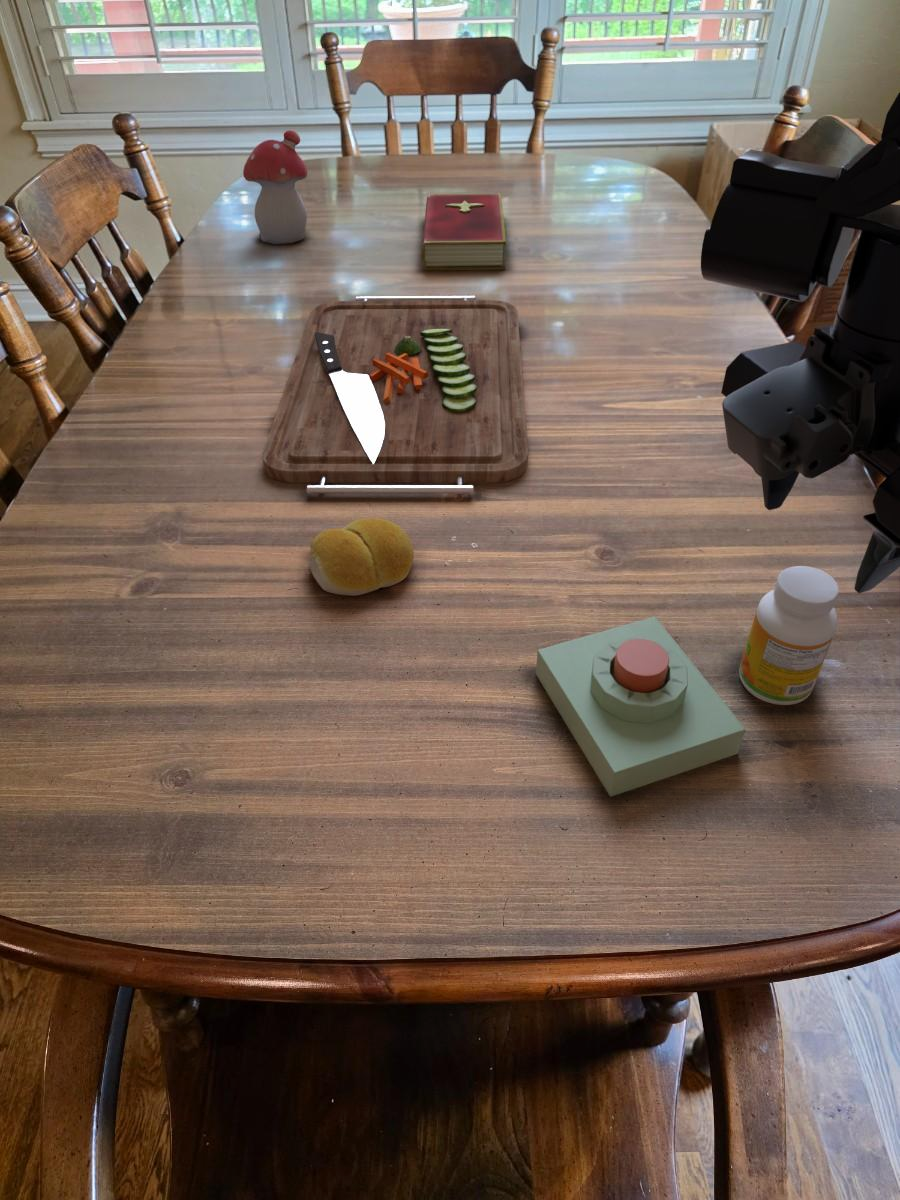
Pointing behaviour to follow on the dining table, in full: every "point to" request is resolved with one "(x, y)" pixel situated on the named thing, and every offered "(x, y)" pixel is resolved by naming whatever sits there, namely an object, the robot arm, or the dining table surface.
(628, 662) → the button
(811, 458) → the robot arm
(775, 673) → the supplement bottle
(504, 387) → the chopping board
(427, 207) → the hardcover book
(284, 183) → the decorative ornament
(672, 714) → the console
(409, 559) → the bread roll
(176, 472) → the dining table surface
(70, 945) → the dining table surface
